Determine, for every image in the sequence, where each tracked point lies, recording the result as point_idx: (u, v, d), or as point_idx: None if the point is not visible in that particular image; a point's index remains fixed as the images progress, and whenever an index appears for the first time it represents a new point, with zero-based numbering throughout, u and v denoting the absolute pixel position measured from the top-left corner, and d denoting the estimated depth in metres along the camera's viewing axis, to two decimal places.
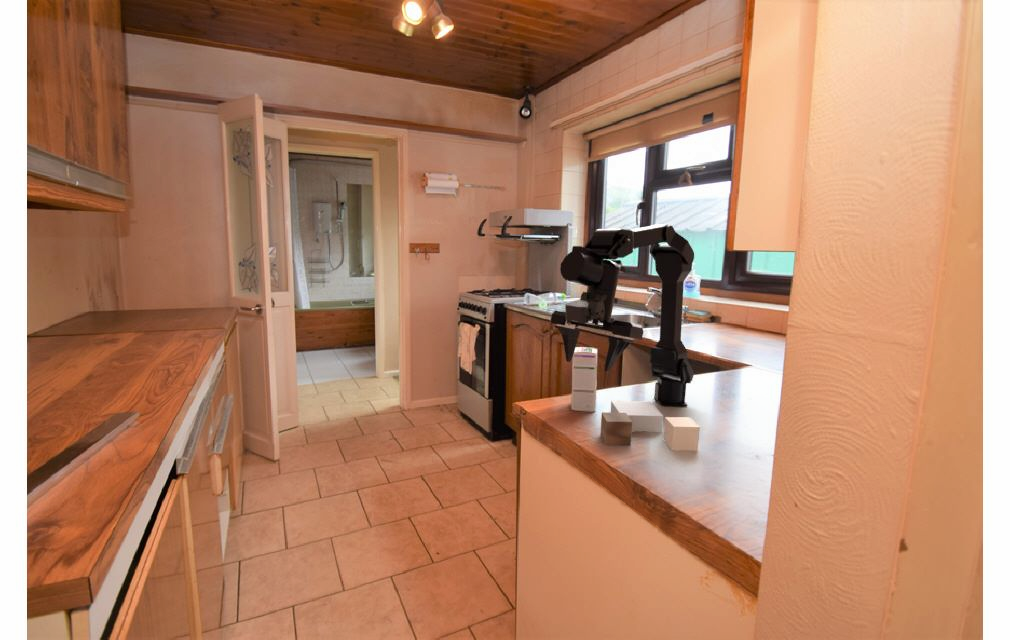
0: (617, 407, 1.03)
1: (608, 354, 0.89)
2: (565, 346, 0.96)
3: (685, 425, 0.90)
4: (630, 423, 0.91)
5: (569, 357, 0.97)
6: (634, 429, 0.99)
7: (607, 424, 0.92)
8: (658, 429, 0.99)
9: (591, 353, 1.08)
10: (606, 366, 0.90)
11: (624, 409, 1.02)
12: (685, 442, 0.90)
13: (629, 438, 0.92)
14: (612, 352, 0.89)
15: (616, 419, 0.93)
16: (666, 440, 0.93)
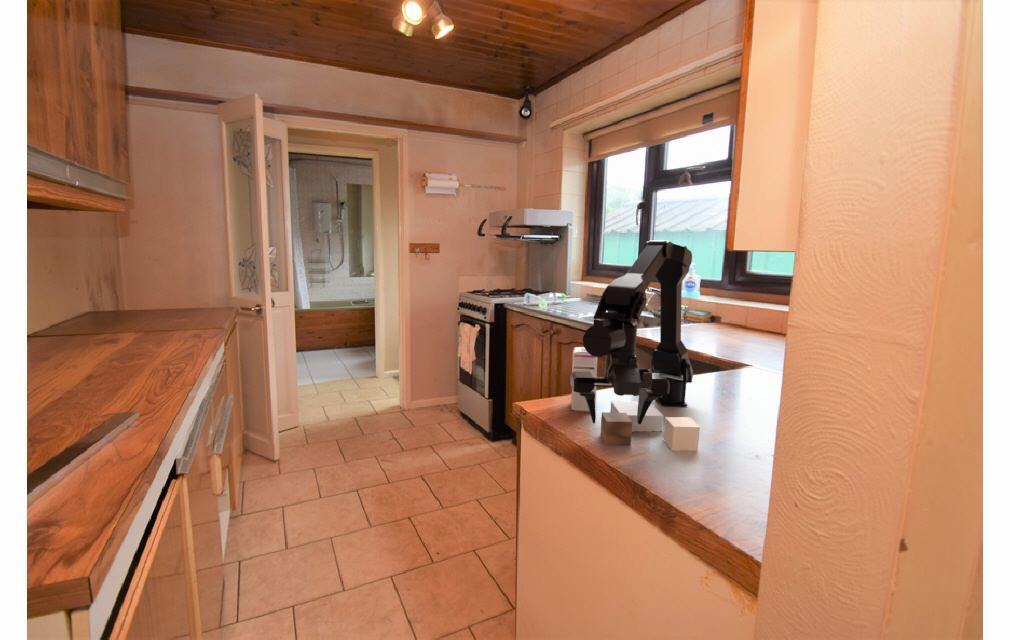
0: (617, 407, 1.03)
1: (643, 409, 0.92)
2: (592, 410, 0.93)
3: (685, 425, 0.90)
4: (630, 423, 0.91)
5: None
6: (634, 429, 0.99)
7: (607, 424, 0.92)
8: (658, 429, 0.99)
9: None
10: (641, 420, 0.93)
11: (624, 409, 1.02)
12: (685, 442, 0.90)
13: (629, 438, 0.92)
14: (647, 407, 0.92)
15: (616, 419, 0.93)
16: (666, 440, 0.93)
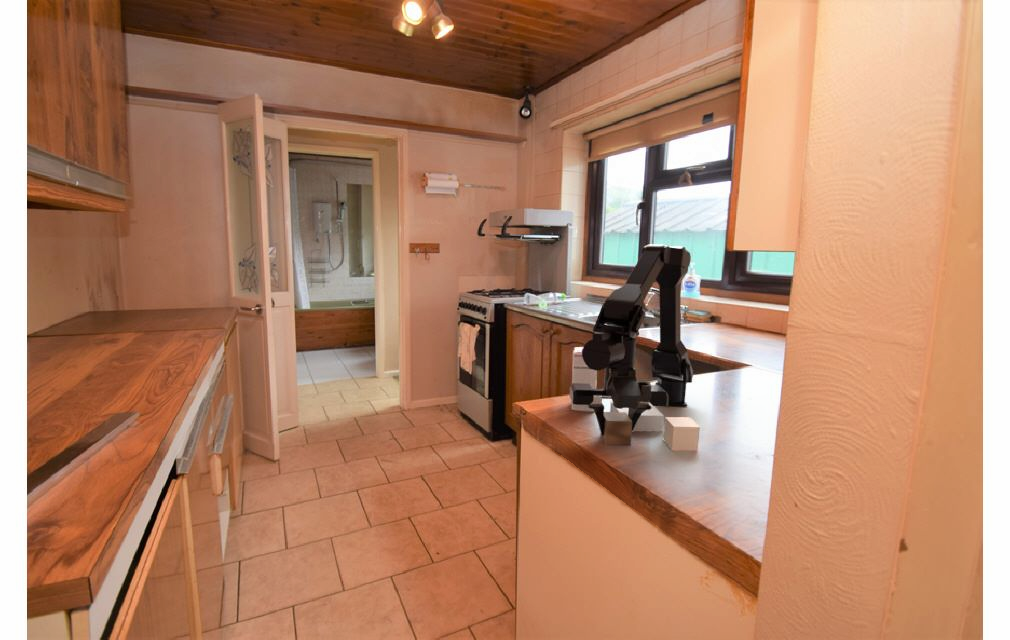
0: None
1: (633, 421, 0.93)
2: (600, 422, 0.93)
3: (685, 425, 0.90)
4: (630, 422, 0.91)
5: None
6: (635, 429, 0.99)
7: (607, 423, 0.92)
8: (659, 429, 0.99)
9: None
10: None
11: (624, 409, 1.02)
12: (685, 442, 0.90)
13: (629, 437, 0.92)
14: (637, 419, 0.93)
15: (616, 418, 0.93)
16: (666, 440, 0.93)
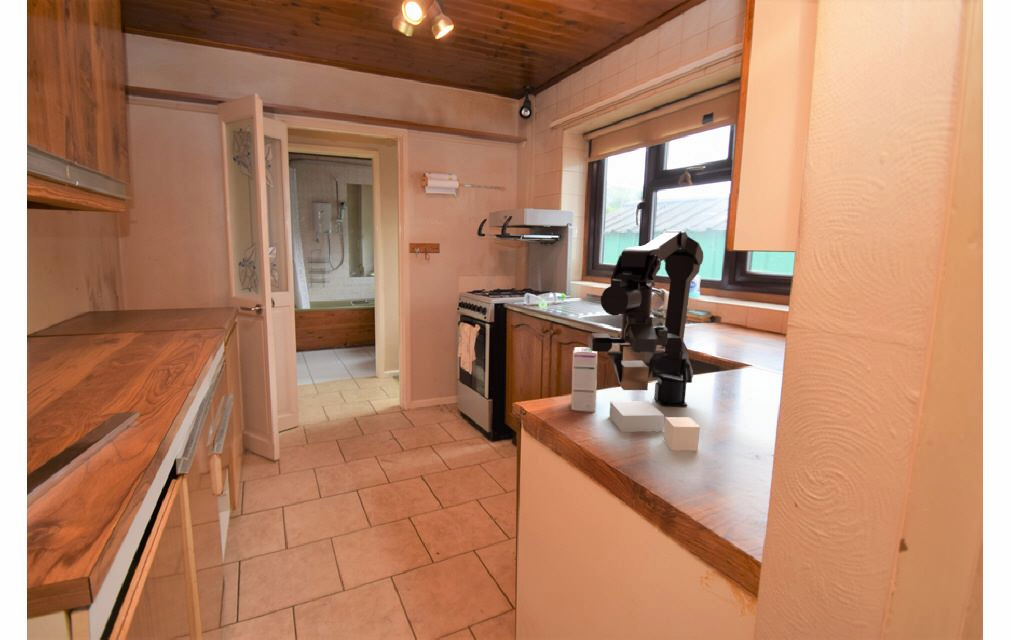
0: (617, 407, 1.03)
1: (649, 368, 0.97)
2: (618, 369, 0.98)
3: (685, 425, 0.90)
4: (647, 368, 0.96)
5: None
6: (636, 429, 0.99)
7: (625, 369, 0.96)
8: (659, 429, 0.99)
9: (591, 353, 1.08)
10: None
11: (625, 410, 1.02)
12: (685, 442, 0.90)
13: (646, 383, 0.97)
14: (653, 365, 0.97)
15: (633, 365, 0.97)
16: (666, 440, 0.93)
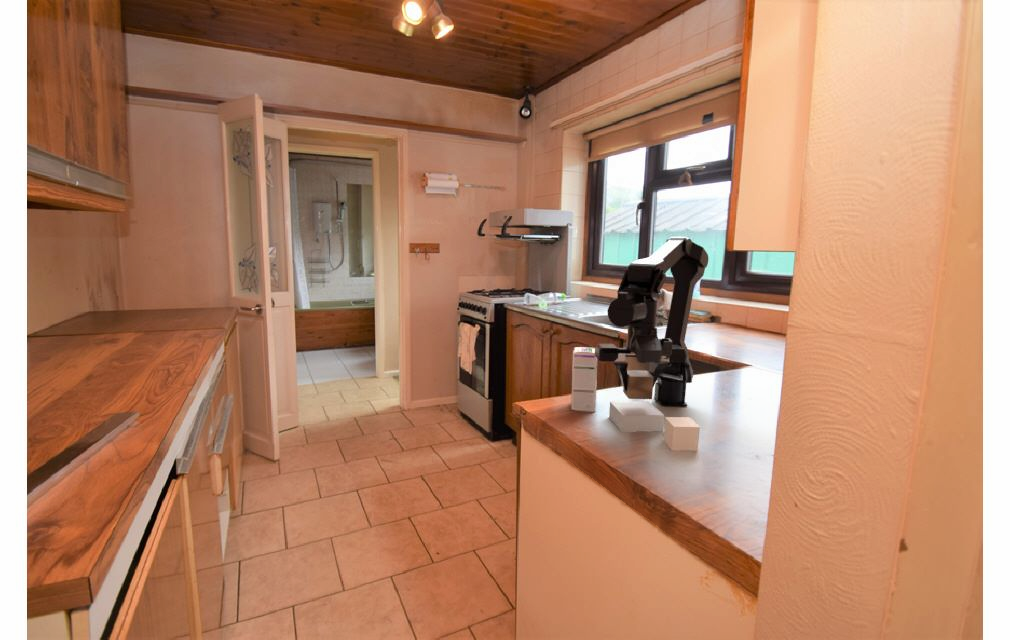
0: (617, 408, 1.03)
1: None
2: (624, 378, 1.01)
3: (685, 425, 0.90)
4: (651, 378, 0.99)
5: None
6: (636, 429, 0.99)
7: (630, 379, 0.99)
8: (659, 428, 0.99)
9: (591, 353, 1.08)
10: None
11: (625, 410, 1.02)
12: (685, 442, 0.90)
13: (650, 392, 1.00)
14: (657, 375, 1.01)
15: (638, 374, 1.01)
16: (666, 440, 0.93)
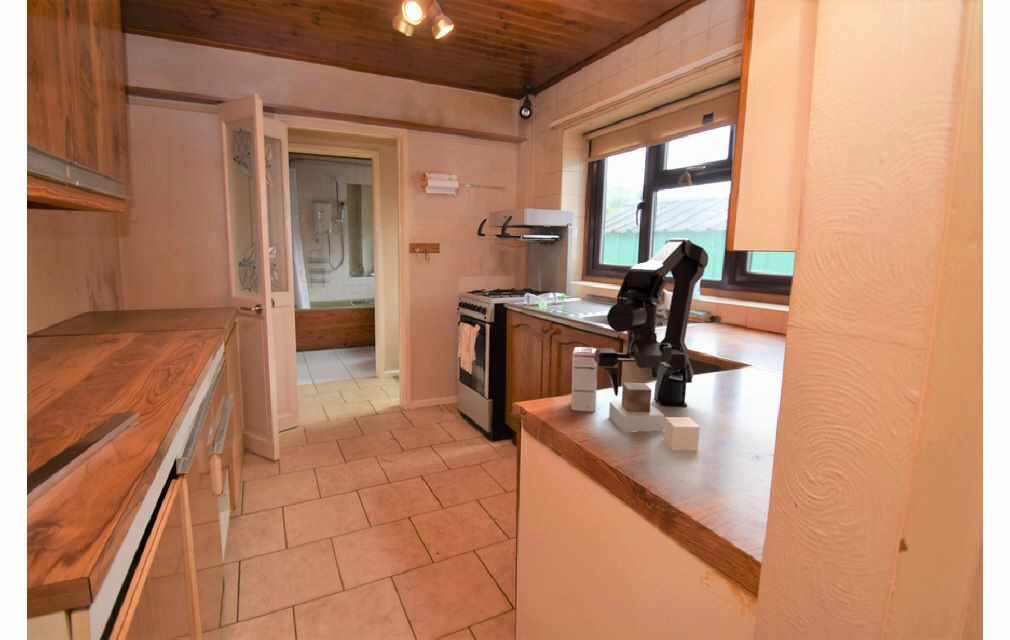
0: (618, 408, 1.03)
1: (662, 382, 1.01)
2: (615, 383, 1.01)
3: (685, 425, 0.90)
4: (649, 391, 1.00)
5: None
6: (637, 430, 0.99)
7: (628, 392, 1.00)
8: (660, 428, 0.99)
9: (591, 353, 1.08)
10: (660, 392, 1.02)
11: (625, 410, 1.01)
12: (685, 442, 0.90)
13: (648, 405, 1.00)
14: (666, 380, 1.01)
15: (636, 387, 1.01)
16: (666, 440, 0.93)
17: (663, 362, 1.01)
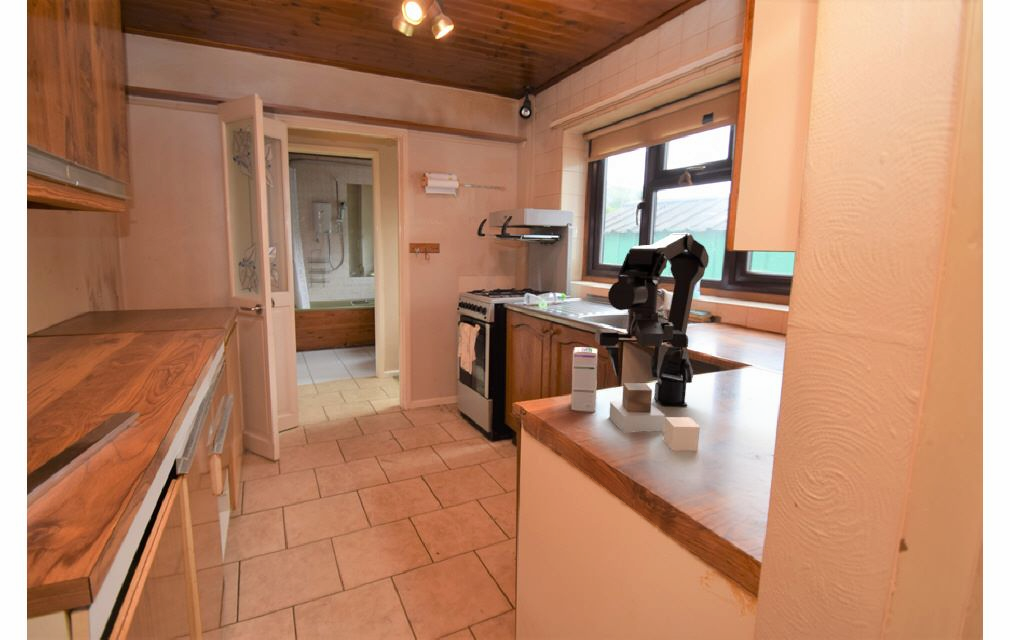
0: (618, 408, 1.03)
1: (663, 363, 1.00)
2: (615, 363, 1.00)
3: (685, 425, 0.90)
4: (650, 391, 1.00)
5: None
6: (637, 430, 0.99)
7: (629, 392, 1.00)
8: (660, 428, 0.99)
9: (591, 353, 1.08)
10: (661, 373, 1.01)
11: (625, 410, 1.01)
12: (685, 442, 0.90)
13: (649, 405, 1.00)
14: (667, 361, 1.00)
15: (637, 388, 1.01)
16: (666, 440, 0.93)
17: (664, 342, 1.00)
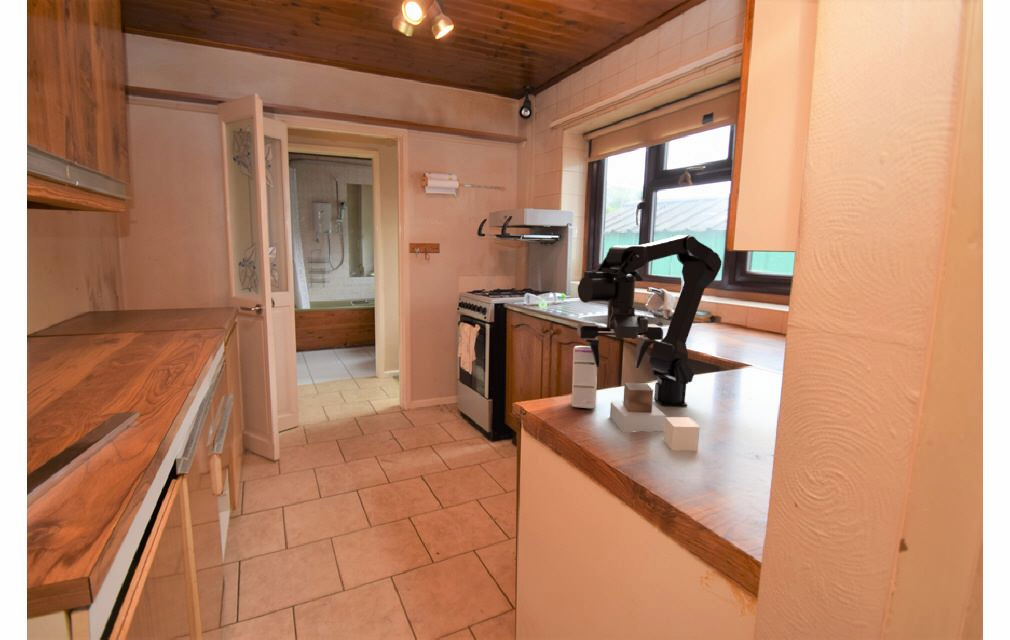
0: (618, 408, 1.03)
1: (640, 354, 1.07)
2: (596, 355, 1.07)
3: (685, 425, 0.90)
4: (651, 391, 1.00)
5: None
6: (637, 429, 0.99)
7: (630, 392, 1.00)
8: (661, 428, 0.99)
9: None
10: (638, 364, 1.08)
11: (626, 410, 1.01)
12: (685, 442, 0.90)
13: (650, 405, 1.00)
14: (644, 352, 1.07)
15: (638, 388, 1.01)
16: (666, 440, 0.93)
17: (641, 335, 1.07)
